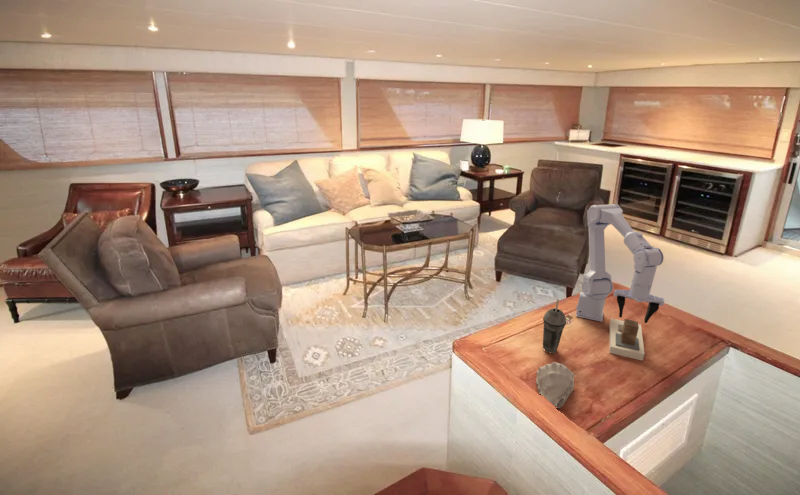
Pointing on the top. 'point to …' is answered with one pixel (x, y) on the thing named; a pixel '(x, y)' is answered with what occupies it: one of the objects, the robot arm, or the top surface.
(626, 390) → the top surface
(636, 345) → the slate mat
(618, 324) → the pocket board
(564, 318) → the beverage cup
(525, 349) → the top surface
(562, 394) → the seashell
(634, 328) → the walnut block
